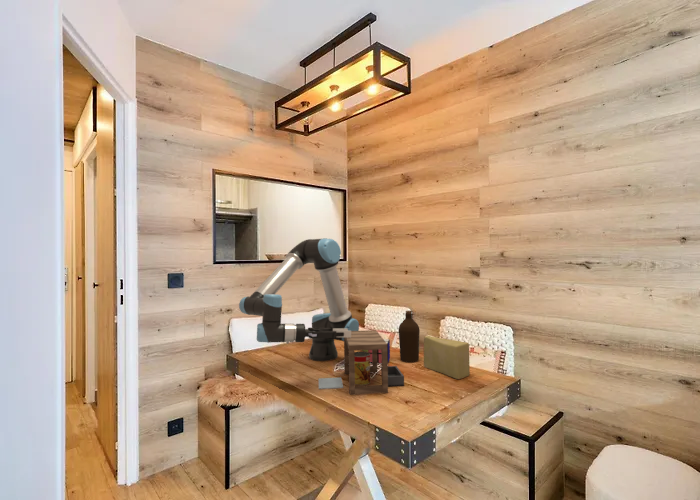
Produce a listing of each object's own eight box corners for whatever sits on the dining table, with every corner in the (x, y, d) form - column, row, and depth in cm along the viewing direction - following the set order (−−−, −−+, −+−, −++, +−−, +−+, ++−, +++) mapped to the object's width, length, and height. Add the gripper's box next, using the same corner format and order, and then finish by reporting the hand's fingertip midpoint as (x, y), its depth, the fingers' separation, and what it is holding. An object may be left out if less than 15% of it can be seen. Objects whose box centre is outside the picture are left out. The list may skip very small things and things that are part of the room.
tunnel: (344, 372, 171) (343, 331, 171) (376, 371, 173) (376, 330, 173) (350, 394, 144) (349, 345, 144) (388, 392, 146) (387, 344, 146)
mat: (318, 379, 163) (318, 378, 163) (341, 378, 163) (341, 377, 163) (318, 389, 151) (318, 388, 151) (343, 388, 152) (343, 387, 152)
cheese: (417, 368, 176) (417, 336, 176) (430, 364, 182) (430, 333, 182) (457, 380, 158) (457, 345, 159) (470, 375, 165) (470, 341, 165)
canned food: (372, 384, 155) (372, 355, 155) (354, 386, 153) (353, 357, 154) (367, 378, 163) (366, 350, 163) (349, 380, 161) (349, 352, 161)
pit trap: (381, 375, 166) (381, 366, 166) (396, 374, 167) (396, 365, 167) (387, 386, 152) (387, 376, 152) (404, 385, 153) (404, 376, 153)
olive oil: (404, 363, 183) (403, 313, 183) (395, 358, 193) (394, 310, 194) (423, 361, 186) (423, 311, 187) (414, 356, 196) (413, 308, 197)
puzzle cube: (388, 364, 184) (387, 343, 184) (368, 363, 186) (367, 343, 186) (390, 358, 194) (389, 339, 194) (371, 357, 196) (370, 338, 196)
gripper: (292, 338, 163) (343, 338, 169) (296, 346, 145) (354, 345, 151) (293, 321, 164) (344, 321, 169) (297, 326, 146) (354, 327, 151)
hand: (349, 332), depth 160 cm, fingers open, 6 cm apart
